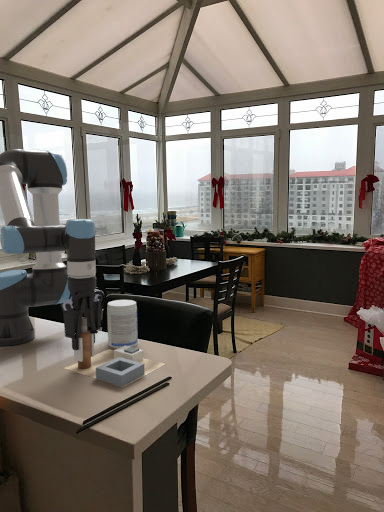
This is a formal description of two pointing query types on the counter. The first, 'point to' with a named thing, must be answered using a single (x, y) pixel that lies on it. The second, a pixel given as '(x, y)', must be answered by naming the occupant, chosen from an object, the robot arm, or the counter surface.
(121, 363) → the socket
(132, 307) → the supplement tub
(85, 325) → the awl
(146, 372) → the plywood panel
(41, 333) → the counter surface
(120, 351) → the block
